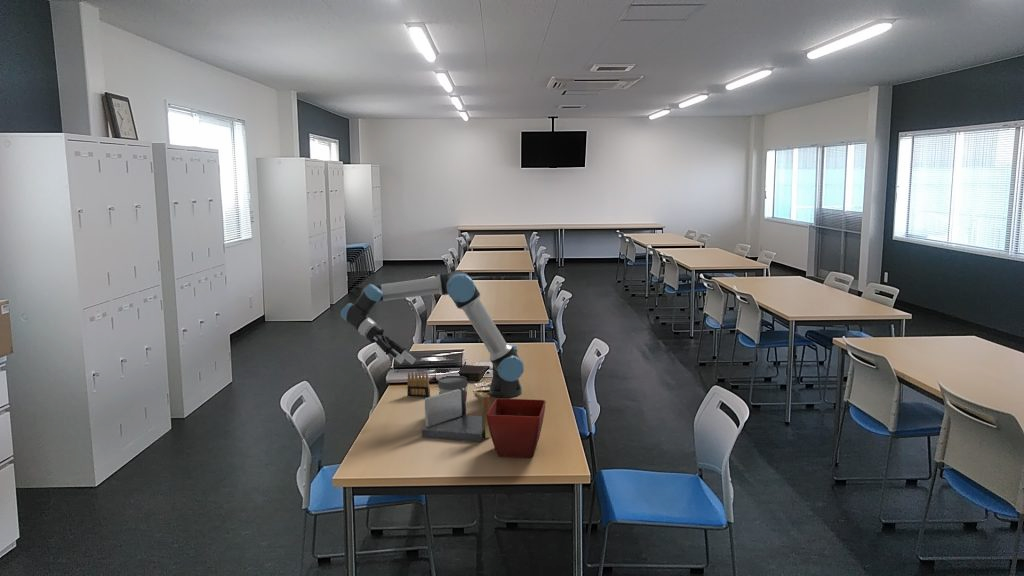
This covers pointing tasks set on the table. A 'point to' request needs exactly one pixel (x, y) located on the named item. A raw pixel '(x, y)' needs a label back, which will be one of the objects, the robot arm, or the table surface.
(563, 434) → the table surface
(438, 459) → the table surface
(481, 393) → the wooden l-shaped post
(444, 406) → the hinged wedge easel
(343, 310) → the robot arm
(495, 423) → the plant pot
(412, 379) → the ammunition clip
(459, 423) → the dark grey flat slab
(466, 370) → the diary
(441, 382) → the reusable coffee cup
